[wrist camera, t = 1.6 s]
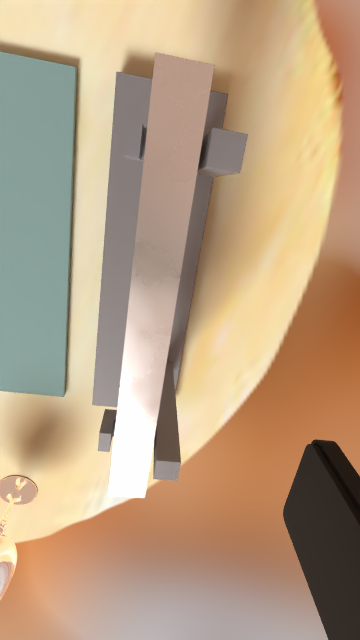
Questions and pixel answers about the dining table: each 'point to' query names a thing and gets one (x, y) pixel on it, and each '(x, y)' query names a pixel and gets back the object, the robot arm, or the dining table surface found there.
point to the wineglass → (3, 551)
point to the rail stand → (119, 242)
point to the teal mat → (35, 221)
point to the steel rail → (157, 259)
